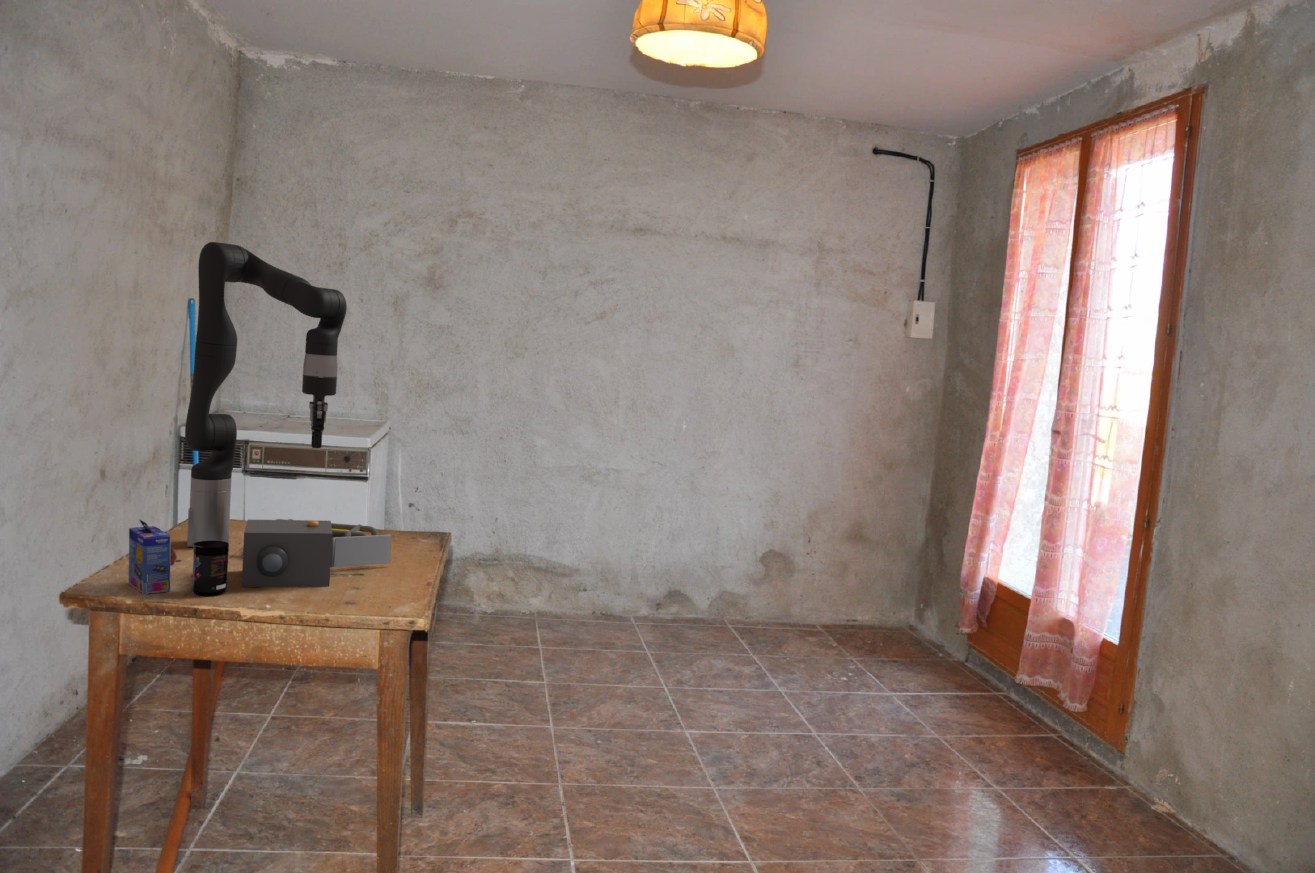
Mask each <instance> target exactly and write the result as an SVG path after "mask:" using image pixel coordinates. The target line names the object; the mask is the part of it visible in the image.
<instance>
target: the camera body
mask: <svg viewBox="0 0 1315 873" xmlns="http://www.w3.org/2000/svg"><path fill="white" fill-rule="evenodd" d="M331 523H332V521H331V520H313V519H312V520H308V519H307V520H306V519H304V520H301V519H300V520H299V519H297V520H296V519H292V520H289V519H283V520H276V519H247V521H246V525H245V527H244V531H243V549H242V550H243V552H242V570H241V572H242V573H241V587H242V588H259V587H260V588H261V587H262V588H263V587H264V588H266V587H267V588H269V587H272V588H273V587H274V588H275V587H277V588H279V587H280V588H282V587H283V588H286V587H330V583H331V582H330V580H331V579H330V578H331V567H330V565H331V547H332V528H331Z"/></svg>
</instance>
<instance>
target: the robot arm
mask: <svg viewBox="0 0 1315 873" xmlns="http://www.w3.org/2000/svg"><path fill="white" fill-rule="evenodd" d="M197 268H198V313H197V315H198V316H197V327H196V328H197V329H196V335H195V346H194V357H193V358H194V361H193V362H194V363H193V364H194V366H193V373H192V374H193V376H192V384H191V385H192V386H191V391H190V392H191V393H190V398H189V402H188V409H187V414H186V419H185V426H184V436H185V437H184V438H185V442H186V445H187V447H188V448H189V450H191V451H193V452H211V454H210V455H209V456H208V457H207V458H205V459H204V460H202V461H199V462H198V463H195V464H193V465H192V466H191V469H190V490H189V491H190V492H189V494H190V495H189V508H188V510H187V511H188V512H187V514H188V515H187V537H186V547H187V548H189V547H191V548H194V543H196V542H200V541H224V542H227V543H229V544H230V542H229V541H230V540H229V539H230V520H231V519H230V517H231V498H232V497H231V496H232V492H231V491H232V474H233V473H232V472H233V469H234V467H235V460H236V458H235V457H236V447H237V437H238V432H237V429H238V428H237V423H236V421H235V419H234V418H233V416H232V415H231V414H229V413H210V411H211V410H210V409H211V405H212V401H213V398H214V397H215V394H216V393H217V391H218V389H219V388H220V386H221V385H222V384H223V383H224V382H225V380H226V379H227V378H228V376H229V375H230V374H231V372H232V371H233V369H234V367H235V364H236V361H237V360H236V359H237V349H238V335H237V331H236V329H235V326H234V324H233V322H232V319H231V318H230V315H229V313H228V311H227V308H226V302H225V287H226V286H225V285H226V283H232V284H233V283H242V284H248V285H252V286H253V285H254V286H257V287H259V288H261V289H262V290H263V291H264V292H265V293H266V294H267V295H268V296H269V297H272V299H275V300H277V301H279V302H281V303H284V304H286V305H288V306H291V307H293V309H295V310H297V311H298V312H299V313H301V314H303V315H305V316H307V317H310V318H316V319H319V321H318V325H317V326H316V327H315V328H311V329H308V331H306V335H305V347H304V348H305V350H304V358H303V366H302V384H301V385H302V387H301V388H302V389H301V392H302V393H303V394H304V395H310V396H311V395H312V397H313V398H312V401H309V403H308V407H309V420H310V430H311V442H310V443H311V446H310V447H311V448H312V449H321V448H322V443H323V433H324V430H325V423H326V422H327V412H328V409H329V408H328V407H329V403H328V402H327V401H326V402H325V399H326V398H325V397H327V396H328V397H330V396H331V397H333V396H335V395H336V394H337V384H338V383H337V382H338V346H339V345H338V343H339V342H338V341H339V337H340V333H341V331H342V328H343V324H344V322H345V319H346V318H345V317H346V314H347V308H348V307H347V306H348V305H347V300H346V297H345V295H344V294H343V292H341V291H340V290H338V289H334V288H327V287H326V288H325V287H318V286H314V285H312V284H311V283H310V282H309V281H308V280H306V279H304V278H303V277H300V276H298V275H296V274H293V273H290V272H288V271H286V270H284V269H281V268H279V267H276V266H274V265H272V264H270V263H268V262H266V260H263V259H261V258H260V257H259V256H257V255H256V254H254V253H252V252H251V251H250V250H248V249H246V248H245V247H243V246H241V245H238V244H231V243H224V242H217V241H209V242H208V243H205V244H204V246H203V247H202V249H201V251H200V254H199V257H198V267H197Z"/></svg>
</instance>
